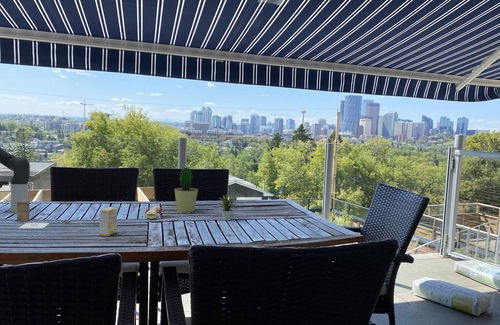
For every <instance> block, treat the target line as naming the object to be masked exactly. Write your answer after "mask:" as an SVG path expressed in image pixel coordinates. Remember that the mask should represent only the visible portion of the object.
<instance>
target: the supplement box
mask: <svg viewBox="0 0 500 325" xmlns="http://www.w3.org/2000/svg"><path fill="white" fill-rule="evenodd" d="M117 212H118V207H111V206H109V207H105V208H103V209H100V210H99V236H101V237H109V236H111V235H113V234H116V233H117V225H118V224H117V222H118V221H117V216H118V213H117Z"/></svg>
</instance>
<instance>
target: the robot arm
mask: <svg viewBox="0 0 500 325" xmlns="http://www.w3.org/2000/svg"><path fill="white" fill-rule="evenodd" d="M0 164H1V165H3V166H4V167H5V168H7V169H8V170H10V171H12V172H13V175H12V178H11V179H10V181H9V180H2V179H0V188H3V186H9V185H10V213H13V214H14V213H16V214H17V202H19V201H29V180H30V176H31V175H30V172H31V166H30V165H31V164H30V161H29V160H28V159H27V158H25V157H19V156H16V155H13V154H11V153H8V152H7V151H5V150H4V149H3V148H2V147H1V146H0Z"/></svg>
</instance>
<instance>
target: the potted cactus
mask: <svg viewBox="0 0 500 325" xmlns="http://www.w3.org/2000/svg"><path fill="white" fill-rule="evenodd" d="M180 170H181V171H180V172H179V178H178V179H179V180H180V183H179V185H180V186H181V187H177V188H176V187H175V188H174V195H175V204H176V212H177V211H178V212H177V213H180V212H192V213H194V212H195V209H196V204H197V198H198V197H197V196H198V193H199V189H198V188H193V187H191V186H192V182H193V179H194V176H193V173H192V172H191V169H190V167H183V168H181V169H180ZM193 211H194V212H193Z"/></svg>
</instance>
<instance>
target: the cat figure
mask: <svg viewBox="0 0 500 325" xmlns="http://www.w3.org/2000/svg"><path fill="white" fill-rule="evenodd" d="M149 209H150V207H148V208H147V209H146V210H145V212H144V213H143V216H144V217H146V218H147V219H149V220H153V219H157V218H158V217H159V216H160V217H161V215H162V209H161V207H158V200H155V206H153V207H152V208H151V209H150V210H149ZM157 216H158V217H157Z"/></svg>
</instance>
